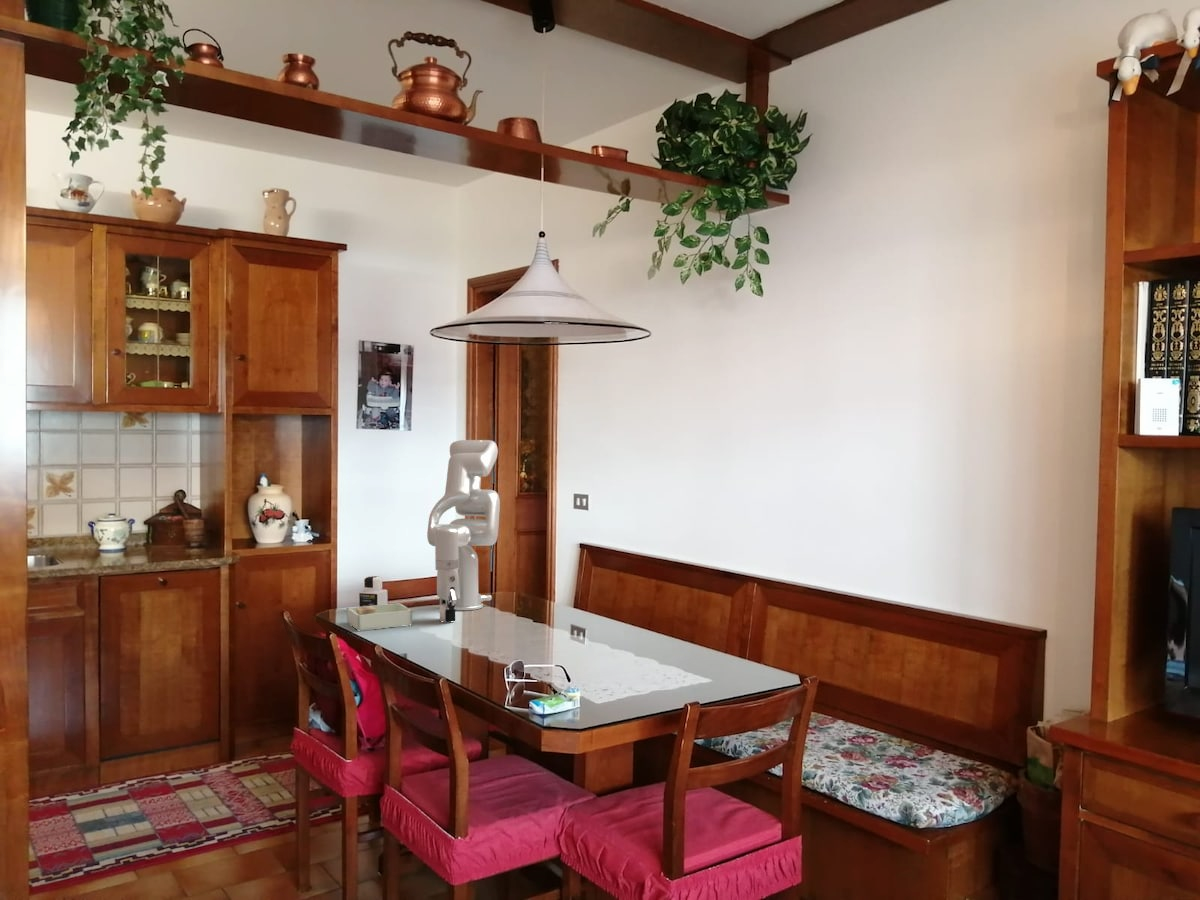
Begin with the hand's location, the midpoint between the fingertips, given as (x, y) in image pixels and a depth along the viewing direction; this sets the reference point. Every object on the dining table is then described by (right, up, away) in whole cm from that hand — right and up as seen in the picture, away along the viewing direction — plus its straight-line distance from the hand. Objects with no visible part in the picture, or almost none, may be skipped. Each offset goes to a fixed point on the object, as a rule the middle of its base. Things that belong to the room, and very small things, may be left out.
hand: (447, 619), depth 304 cm
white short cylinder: (0, -1, 0) cm, 1 cm away
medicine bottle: (-29, -1, +18) cm, 34 cm away
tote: (-21, -1, -5) cm, 22 cm away
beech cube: (-25, 0, -7) cm, 26 cm away
